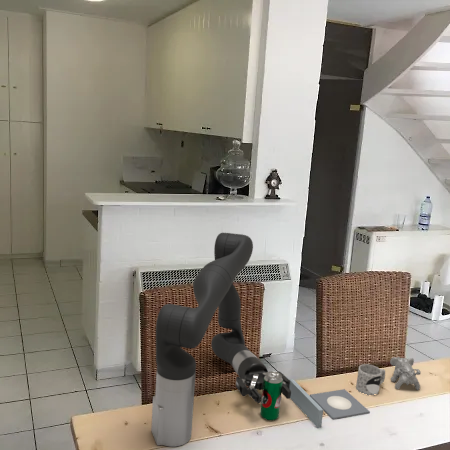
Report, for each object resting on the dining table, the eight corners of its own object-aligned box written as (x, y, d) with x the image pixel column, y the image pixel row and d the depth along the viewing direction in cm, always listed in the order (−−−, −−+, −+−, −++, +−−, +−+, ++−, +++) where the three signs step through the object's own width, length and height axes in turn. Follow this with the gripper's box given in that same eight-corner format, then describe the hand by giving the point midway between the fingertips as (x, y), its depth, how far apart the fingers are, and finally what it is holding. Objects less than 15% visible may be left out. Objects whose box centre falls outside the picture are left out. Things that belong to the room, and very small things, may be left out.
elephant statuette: (400, 394, 151) (405, 372, 149) (375, 373, 161) (380, 351, 159) (424, 391, 154) (430, 368, 152) (398, 370, 165) (403, 349, 163)
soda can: (277, 423, 131) (282, 381, 128) (258, 419, 132) (262, 378, 129) (279, 412, 136) (284, 372, 133) (261, 409, 137) (265, 369, 134)
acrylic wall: (317, 427, 130) (319, 410, 129) (287, 395, 145) (289, 379, 144) (321, 427, 131) (323, 409, 130) (291, 394, 145) (293, 379, 144)
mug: (367, 397, 147) (370, 377, 145) (351, 386, 152) (354, 366, 151) (391, 390, 152) (394, 370, 151) (374, 380, 157) (377, 360, 156)
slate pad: (332, 419, 134) (333, 417, 134) (309, 396, 145) (309, 394, 145) (369, 413, 139) (369, 411, 139) (344, 390, 150) (344, 388, 150)
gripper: (227, 358, 142) (251, 388, 127) (272, 353, 147) (300, 381, 133) (225, 383, 144) (248, 415, 129) (270, 377, 149) (297, 406, 134)
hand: (274, 397), depth 131 cm, fingers open, 8 cm apart
